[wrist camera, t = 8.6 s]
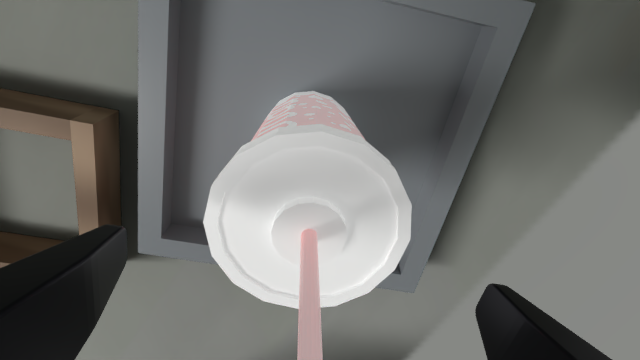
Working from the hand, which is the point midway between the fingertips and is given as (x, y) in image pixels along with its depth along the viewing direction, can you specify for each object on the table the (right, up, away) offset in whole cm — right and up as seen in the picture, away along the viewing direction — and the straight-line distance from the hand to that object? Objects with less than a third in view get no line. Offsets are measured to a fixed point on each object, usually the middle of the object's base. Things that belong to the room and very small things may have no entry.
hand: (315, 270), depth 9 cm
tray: (0, +5, +11) cm, 12 cm away
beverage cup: (-1, +5, +10) cm, 11 cm away
